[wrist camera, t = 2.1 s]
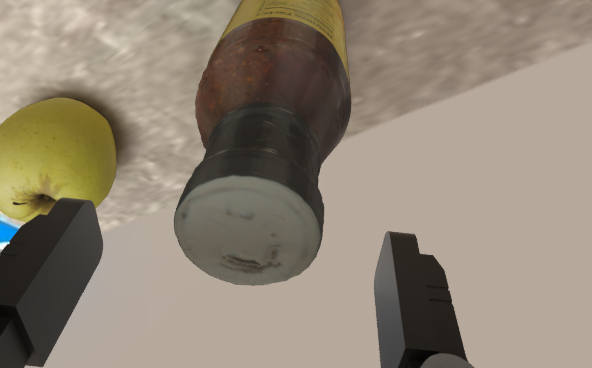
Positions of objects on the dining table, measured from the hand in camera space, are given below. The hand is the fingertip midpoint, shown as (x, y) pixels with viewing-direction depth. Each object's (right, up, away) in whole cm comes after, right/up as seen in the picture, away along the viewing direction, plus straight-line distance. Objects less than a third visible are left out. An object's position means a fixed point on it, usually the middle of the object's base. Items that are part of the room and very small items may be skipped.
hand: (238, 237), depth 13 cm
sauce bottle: (+1, +12, +16) cm, 20 cm away
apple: (-14, +5, +22) cm, 27 cm away
